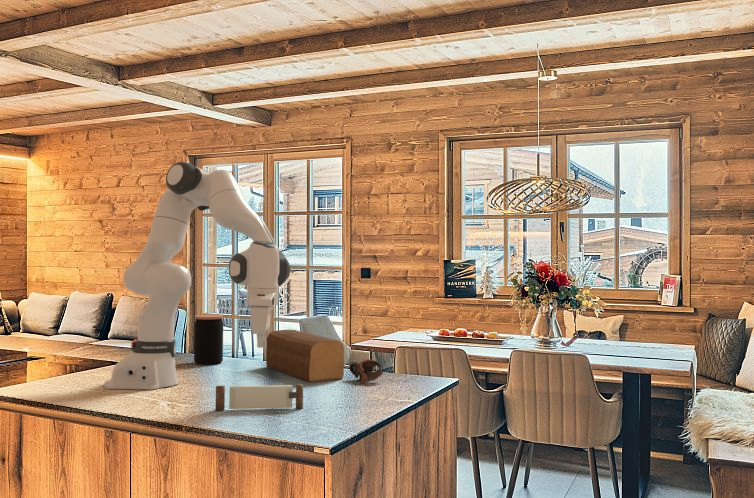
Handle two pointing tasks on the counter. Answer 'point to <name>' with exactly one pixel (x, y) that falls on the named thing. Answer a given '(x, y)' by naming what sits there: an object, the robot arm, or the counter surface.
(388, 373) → the counter surface
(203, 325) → the coffee jar
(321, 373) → the bread
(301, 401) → the post
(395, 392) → the counter surface
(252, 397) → the gate
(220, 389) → the hinge post
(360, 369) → the pottery mug
